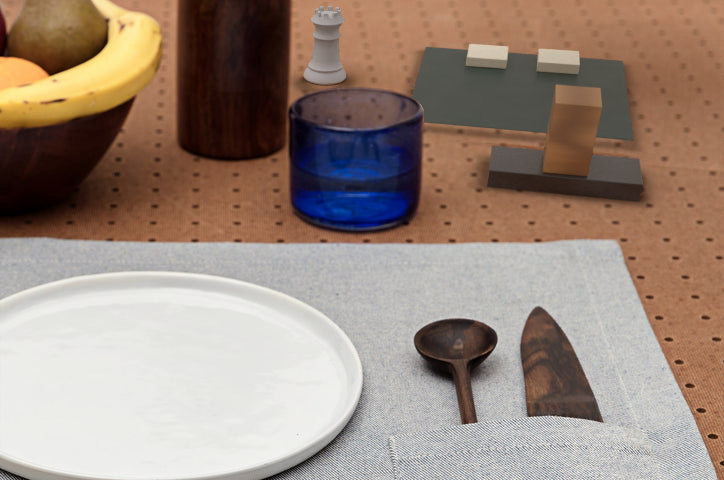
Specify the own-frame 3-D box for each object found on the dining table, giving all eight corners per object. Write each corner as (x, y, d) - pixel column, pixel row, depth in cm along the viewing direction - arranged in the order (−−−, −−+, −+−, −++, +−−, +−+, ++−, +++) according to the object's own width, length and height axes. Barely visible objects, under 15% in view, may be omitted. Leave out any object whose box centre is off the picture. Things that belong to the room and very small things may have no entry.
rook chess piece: (335, 77, 111) (339, 0, 106) (353, 93, 107) (359, 13, 103) (295, 83, 110) (298, 5, 105) (312, 99, 106) (316, 19, 102)
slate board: (620, 71, 111) (623, 60, 110) (630, 152, 95) (633, 140, 94) (424, 57, 115) (425, 46, 115) (403, 132, 100) (404, 120, 99)
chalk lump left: (507, 55, 112) (508, 46, 111) (505, 69, 109) (507, 59, 108) (468, 52, 113) (469, 43, 112) (465, 66, 110) (466, 56, 109)
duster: (634, 180, 91) (656, 89, 86) (637, 207, 87) (660, 114, 82) (489, 166, 93) (502, 78, 89) (485, 191, 90) (499, 101, 85)
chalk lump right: (577, 60, 110) (579, 51, 110) (577, 74, 107) (579, 64, 106) (537, 57, 111) (538, 48, 111) (536, 71, 108) (538, 61, 107)
